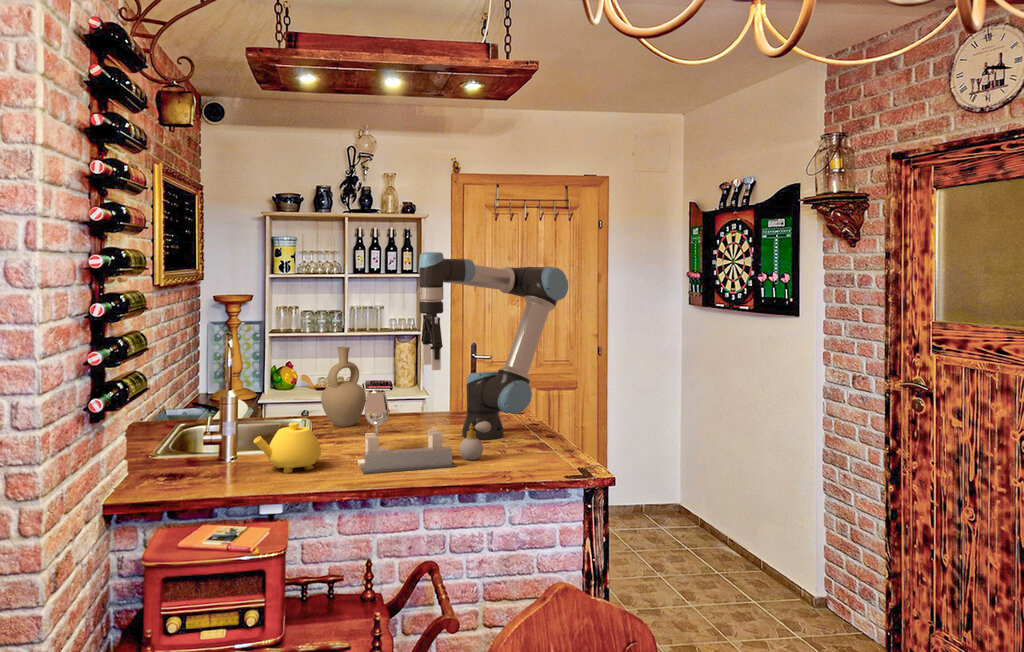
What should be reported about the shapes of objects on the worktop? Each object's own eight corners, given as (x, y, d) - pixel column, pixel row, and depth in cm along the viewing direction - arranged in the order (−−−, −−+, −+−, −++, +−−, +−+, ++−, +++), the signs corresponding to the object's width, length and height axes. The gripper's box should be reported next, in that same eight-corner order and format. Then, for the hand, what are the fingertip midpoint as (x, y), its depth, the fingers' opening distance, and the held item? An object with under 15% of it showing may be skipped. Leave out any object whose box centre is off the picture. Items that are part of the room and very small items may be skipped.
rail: (449, 462, 243) (449, 446, 243) (451, 465, 240) (451, 448, 239) (364, 468, 235) (364, 451, 235) (366, 471, 232) (366, 454, 231)
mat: (451, 462, 245) (451, 460, 245) (456, 467, 239) (456, 465, 239) (360, 469, 236) (360, 467, 236) (363, 474, 230) (363, 472, 230)
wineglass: (384, 454, 254) (383, 393, 253) (361, 453, 256) (360, 392, 254) (392, 449, 262) (392, 389, 260) (370, 447, 264) (369, 388, 262)
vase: (345, 419, 311) (344, 344, 309) (375, 424, 302) (374, 347, 299) (312, 426, 298) (311, 347, 296) (342, 432, 288) (341, 350, 286)
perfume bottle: (454, 458, 250) (454, 421, 249) (480, 454, 256) (480, 417, 255) (468, 463, 244) (468, 425, 243) (493, 458, 250) (493, 421, 249)
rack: (445, 456, 253) (445, 428, 252) (449, 460, 247) (449, 432, 246) (357, 462, 244) (357, 433, 244) (359, 467, 238) (359, 438, 238)
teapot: (262, 479, 224) (261, 432, 223) (246, 468, 237) (245, 423, 236) (329, 469, 236) (328, 424, 235) (309, 458, 248) (309, 416, 247)
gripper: (412, 299, 260) (412, 362, 262) (427, 302, 237) (428, 372, 238) (434, 299, 263) (434, 362, 264) (452, 302, 239) (452, 371, 241)
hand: (431, 367), depth 251 cm, fingers open, 13 cm apart
